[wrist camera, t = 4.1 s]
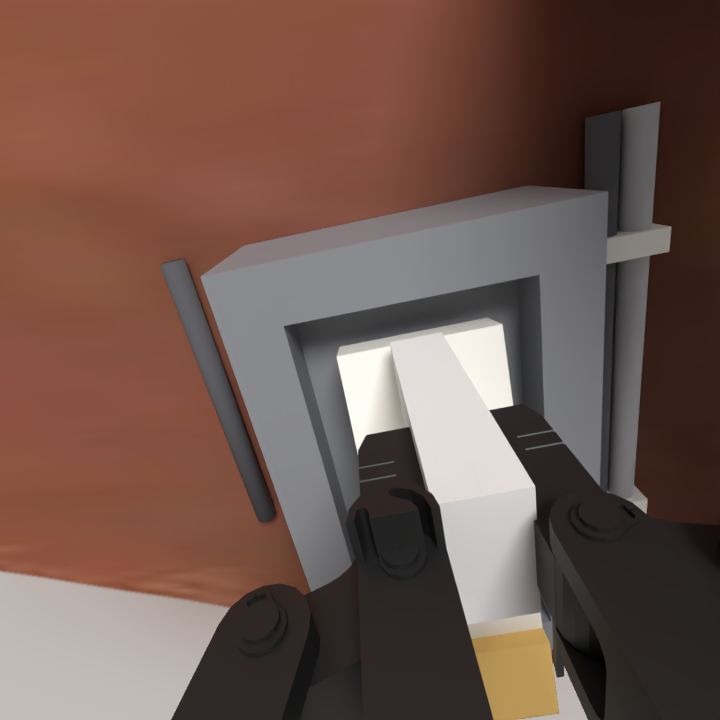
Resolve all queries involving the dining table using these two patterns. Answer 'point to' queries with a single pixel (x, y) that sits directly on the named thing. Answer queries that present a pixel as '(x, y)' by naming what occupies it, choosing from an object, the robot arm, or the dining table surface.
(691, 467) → the dining table surface
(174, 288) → the dark grey thin bar
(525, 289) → the breaker housing
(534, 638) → the rocker
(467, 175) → the dining table surface
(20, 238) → the dining table surface
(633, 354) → the dressed cords
